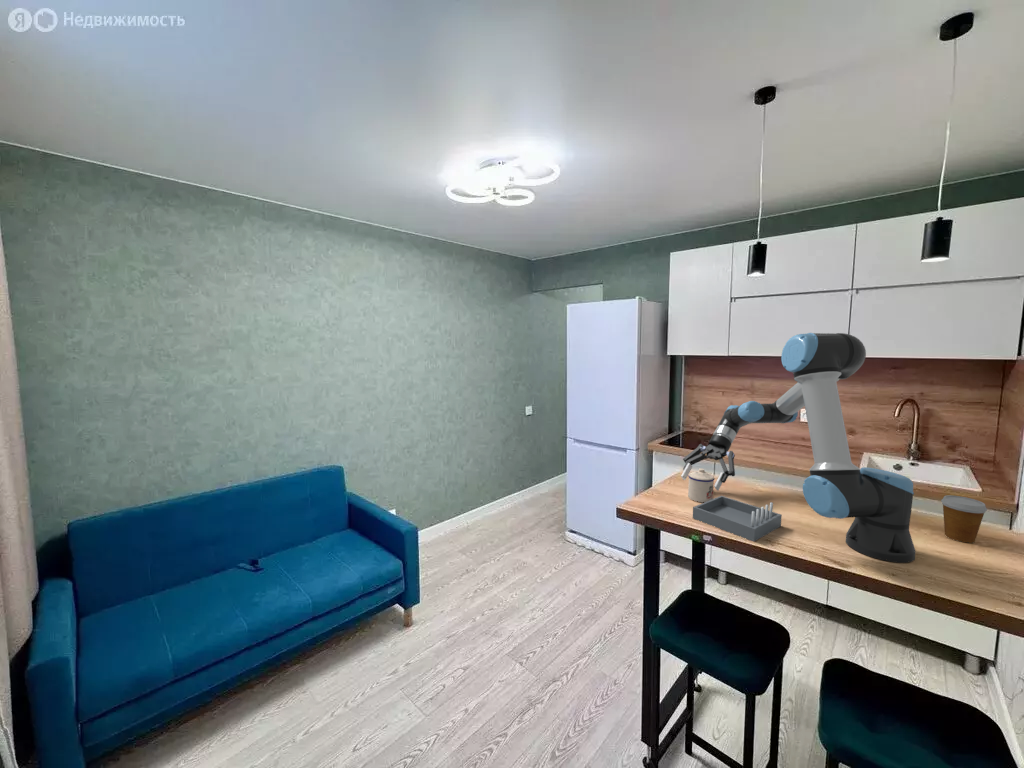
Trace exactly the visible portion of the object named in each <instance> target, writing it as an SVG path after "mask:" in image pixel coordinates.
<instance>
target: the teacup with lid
mask: <svg viewBox="0 0 1024 768" xmlns="http://www.w3.org/2000/svg"><path fill="white" fill-rule="evenodd" d="M687 478H688V487H687V489H688V490H687V491H688V492H687V498H688V499H690V500H691V501H693V500H694V502H697V501H698V502H697V503H703V502H707V501H709V500H712V499H714V485H715V483H714V482H715V477H714V475H713V474H711V473H709V472H707V471H705V469H704V468H698V470H696V471H692V472H691V471H690V472H689V474H688V476H687Z"/></svg>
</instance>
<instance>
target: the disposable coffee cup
mask: <svg viewBox="0 0 1024 768" xmlns="http://www.w3.org/2000/svg"><path fill="white" fill-rule="evenodd" d="M940 502H941V503H942V504H941V505H942V510H943V527H944V536H945V535H946V536H947V537H946V536H945V537H946V538H948V537H949V538H948V539H950V538H951V539H950V540H953V539H954V540H953V541H956V540H958V541H957V542H960V541H962V542H961V543H965V542H969V543H968V544H973V543H972V542H974V543H975V542H976V539H977V536H978V533H979V530H980V528H981V523H982V521H983V518H984V514H985V513H986V512H987V511H988V508H987V507H986V503H984V502H983V501H980V500H978V499H974V498H970V497H966V496H962V495H961V496H959V495H951V494H949V495H944V496H943V498H942V499H941V500H940Z"/></svg>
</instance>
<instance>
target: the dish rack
mask: <svg viewBox="0 0 1024 768" xmlns="http://www.w3.org/2000/svg"><path fill="white" fill-rule="evenodd" d="M773 507H774V502H769V504H765V507H764V506H761V507H759V506H755V505H752V504H749V503H747V502H743V501H740V500H737V499H733V498H730V497H727V496H724V495H720V496H717V497H713V499H712V500H709V501H707V502H704V503H703V502H701V503H699V504H697V505H695V506H693V508H692V519H693V518H694V519H693V520H696V521H698V520H699V521H698V522H701V521H702V522H701V523H704V524H706V523H707V525H709V526H711V525H712V526H711V527H714V526H715V527H714V528H716V529H719V528H720V530H722V531H724V530H725V532H728V533H730V534H732V533H733V534H732V535H735V536H738V537H740V536H741V537H740V538H743V539H745V538H746V539H745V540H748V541H751V542H754V543H755V541H757V540H759V539H761V538H763V537H765V536H766V535H768V534H770V533H771V532H773V531H775V530H777V529H779V528H781V526H782V515H783V514H781V513H777V512H775V511H774V510H773V509H774V508H773Z"/></svg>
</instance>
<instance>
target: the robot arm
mask: <svg viewBox="0 0 1024 768" xmlns="http://www.w3.org/2000/svg"><path fill="white" fill-rule="evenodd" d="M866 356H867V351H866V346H865V345H864V343H863V342H862V341H861V340H860V339H859V338H858V337H856V336H855V335H851V334H849V333H844V332H840V333H839V332H838V333H829V332H828V333H823V332H822V333H815V332H808V333H799V334H796V335H793V336H791V337H790V338H789V339H788V340H787V341H786V342H785V345H784V346H783V348H782V352H781V364H782V366H783V368H784V369H785V370H786V371H787V372H790V373H792V374H793V379H794V381H795V382H797V383H795V384H794V385H793V386H792V387H790V388H789V389H788V390H787V391H786V392H785V393H783V394H782V395H781V396H780V397H779V398H778V399H776V400H775V401H774V402H772V403H761V402H758V401H756V400H749V401H746V402H744V403H742V404H741V405H732V404H731V405H729V406H728V407H727V408H726V410H725V411H724V412H723V415H722V417H721V418H720V420H719V423H718V425H717V427H716V428H715V430H714V432H713V434H712V436H711V437H710V440H709V441H708V444H707V445H706V446H705V445H703V444H702V443H700V444H698V446H697V447H696V448H694V449H693V450H692V451H691V452H689V453H688V454H687V455H686V456H684V457H683V458H682V460H683V462H684V463H685V465H684V466H683V468H682V470H683V471H682V474H681V475H680V477H681V478H682V480H683V481H686V480H687V478H688V475H689V473H691V471H692V469H693V465H695V464H697V463H700V462H701V461H703V460H708V459H710V460H714V461H719V464H720V466H721V468H722V470H723V471H720V474H719V476H718V478H717V480H716V481H715V483H714V484H713V488H715V490H716V491H719V490H720V489H721V487H722V485H723V484H725V483H726V481H727V480H728V478H729V477H735V476H736V473H735V472H736V470H735V462H734V461H735V460H734V459H735V456H736V454H735V453H734V452H733V450H730V448H731V446H732V444H733V443H734V440H735V438H736V437H737V435H738V432H739V431H740V429H741V428H742V427H745V426H747V425H751V424H786V423H787V424H789V423H793V422H795V421H796V419H797V417H798V415H799V414H798V413H799V411H800V410H802V409H803V408H804V409H805V410H804V411H805V414H806V415H805V416H806V420H807V421H806V422H807V428H808V432H809V437H810V444H811V451H812V456H813V457H812V458H813V462H814V464H813V465H812V466H811V467H810V468H809V475H810V476H808V477H806V478H805V479H804V481H803V484H802V494H803V496H804V499H805V501H806V503H807V505H808V506H809V507H810V508H811V509H812V510H813V512H815V513H816V514H817V515H819V516H821V517H824V518H829V519H831V518H832V519H840V520H842V519H845V518H854V519H853V521H852V523H851V525H850V526H849V528H848V529H847V531H846V534H845V543H846V545H847V546H848V547H850V548H851V549H852V550H855V551H856V552H859V553H860V554H862V555H865V556H868V557H871V558H873V559H878V560H881V561H886V562H890V563H891V562H892V563H902V564H904V563H905V564H907V563H912V562H913V561H915V559H916V548H915V545H914V542H913V538H912V535H911V533H910V523H911V515H912V507H913V497H914V494H915V492H914V482H913V481H912V479H910V477H907V476H905V475H902V474H899V473H896V472H892V471H889V470H885V469H880V468H879V469H878V468H875V467H864V466H863V467H861V468H860V467H859V466H857V465H856V464H854V463H853V462H852V458H851V452H850V447H849V442H848V437H847V436H848V435H847V430H846V426H845V422H844V421H845V420H844V416H843V415H844V414H843V411H842V404H841V399H840V393H839V389H838V383H837V382H839V380H847V379H848V378H849V377H851V376H853V375H854V374H855V373H856V372H857V371H858V370H859V369H860V368H861V367H862V366H863V364H864V363H865V360H866ZM726 456H727V459H728V468H729V469H728V468H727V465H726V463H725V460H724V458H725V457H726Z"/></svg>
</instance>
